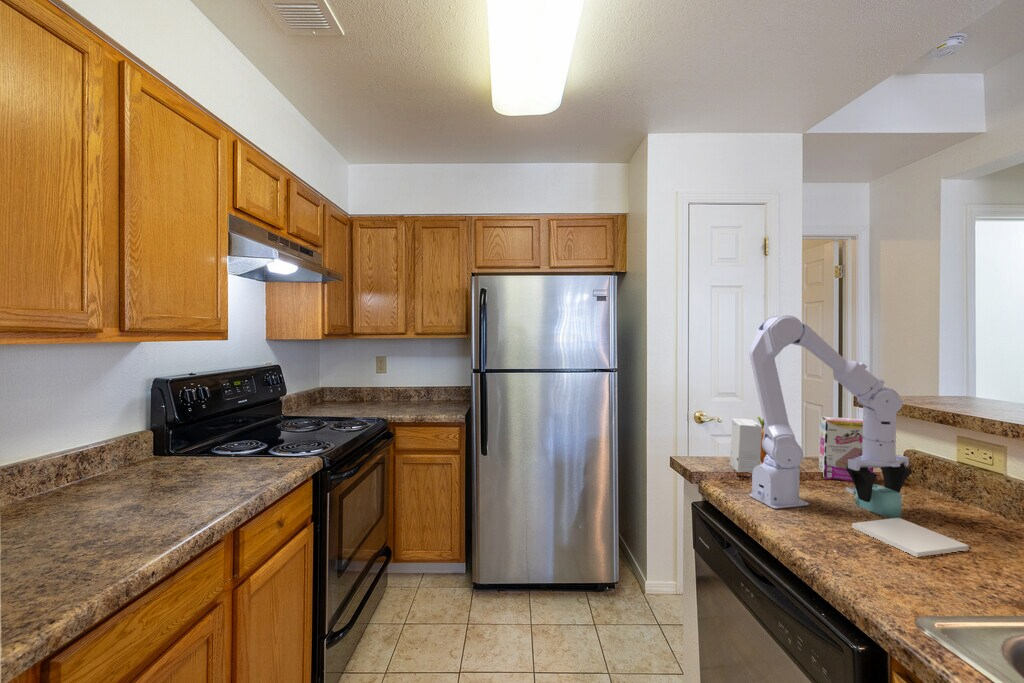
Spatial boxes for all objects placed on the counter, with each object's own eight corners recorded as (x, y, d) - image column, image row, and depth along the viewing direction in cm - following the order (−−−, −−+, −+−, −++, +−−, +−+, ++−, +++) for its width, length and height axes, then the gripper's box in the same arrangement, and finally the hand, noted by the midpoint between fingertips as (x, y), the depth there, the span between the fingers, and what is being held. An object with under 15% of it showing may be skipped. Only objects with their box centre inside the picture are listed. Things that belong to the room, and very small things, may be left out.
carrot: (751, 463, 131) (751, 414, 131) (766, 463, 132) (767, 414, 131) (762, 469, 126) (762, 418, 126) (778, 468, 127) (778, 417, 126)
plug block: (891, 519, 93) (891, 496, 93) (842, 499, 104) (843, 479, 104) (906, 517, 94) (906, 494, 94) (856, 498, 105) (857, 477, 105)
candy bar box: (824, 479, 117) (825, 419, 117) (818, 473, 122) (819, 416, 122) (874, 484, 114) (875, 422, 113) (866, 478, 118) (867, 418, 118)
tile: (917, 558, 78) (917, 552, 77) (852, 527, 89) (852, 523, 89) (968, 550, 80) (968, 545, 80) (898, 522, 92) (898, 517, 92)
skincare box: (729, 467, 128) (729, 417, 127) (751, 469, 127) (752, 418, 126) (737, 477, 120) (738, 423, 119) (762, 478, 118) (762, 424, 118)
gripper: (870, 445, 92) (869, 509, 92) (924, 441, 95) (923, 502, 95) (839, 437, 99) (838, 496, 99) (890, 434, 102) (889, 491, 102)
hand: (878, 498), depth 98 cm, fingers open, 7 cm apart
